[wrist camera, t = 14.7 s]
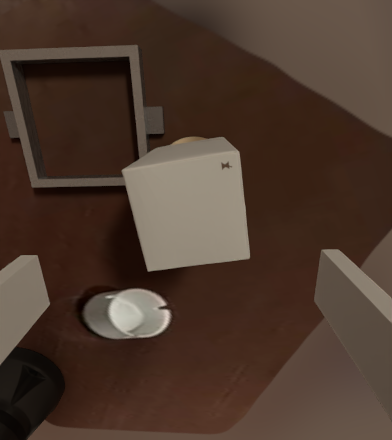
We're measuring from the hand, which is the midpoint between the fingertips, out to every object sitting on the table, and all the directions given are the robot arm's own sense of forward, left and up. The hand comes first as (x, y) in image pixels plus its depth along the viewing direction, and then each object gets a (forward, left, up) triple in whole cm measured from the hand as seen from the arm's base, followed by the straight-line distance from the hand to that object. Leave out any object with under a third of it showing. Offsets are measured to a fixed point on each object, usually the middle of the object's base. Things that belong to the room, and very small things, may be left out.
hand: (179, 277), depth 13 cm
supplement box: (0, 0, -24) cm, 24 cm away
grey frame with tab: (-13, +7, -24) cm, 28 cm away
